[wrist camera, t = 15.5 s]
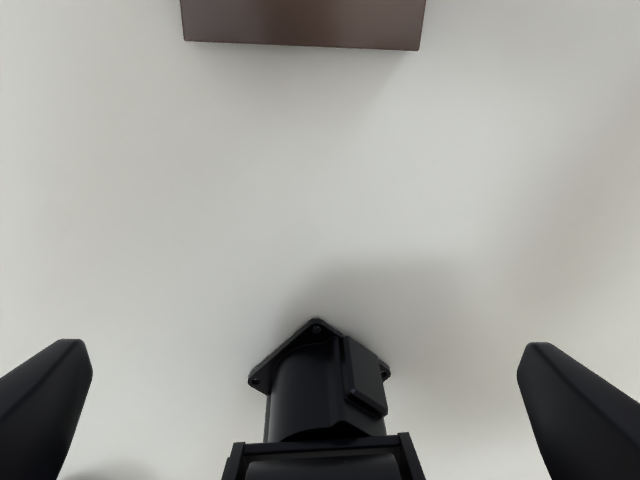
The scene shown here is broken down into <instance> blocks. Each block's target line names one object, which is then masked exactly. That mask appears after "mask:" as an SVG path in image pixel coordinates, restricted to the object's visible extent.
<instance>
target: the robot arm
mask: <svg viewBox="0 0 640 480" xmlns="http://www.w3.org/2000/svg"><path fill="white" fill-rule="evenodd" d="M315 326H318V327H319V328H313V327H315ZM390 375H391V373H390V368H389V366H388V365H387V364H385V363H384V362H382V361H381V360H379V359H378V358H377V356H376V355H375V354H374V353H372V352H371V351H369V350H368V349H366V348H365V347H364V346H362V345H361V344H359V343H358V342H356V341H355V340H353V339H352V338H351V337H349V336H345V335H343V334H342V333H340V332H339V331H337V330H336V329H334V328H333V327H332V326H330V325H329V324H327V323H326V322H324V321H323V320H321V319H318V318H315V319H312V320H310V321H309V322H308V323H306V324H305V325H304V326H303V327H302V328H301V329H300V330H298V331H297V332H296V333H295V334H294V335H293V336H292V337H291V338H289V339H288V340H287V341H286V342H285V343H284V344H283V345H281V346H280V347H279V348H278V349H277V350H276V351H275V352H274V353H272V354H271V355H270V356H269V357H268V358H267V359H266V360H264V361H263V362H262V363H261V364H260V365H259V366H258V367H257V368H255V369H254V370H253V371H252V372H251V373H250V374H249V376H248V384H249V385H250V386H251V387H253V388H255V389H256V390H258V391H260V392H262V393H263V394H265V395H267V404H266V415H265V427H264V439H263V443H252V444H245V442H236V443H234V444H233V448H232V451H231V455H230V457H228V458H227V461H226V465H225V468H224V472H223V475H222V479H221V480H426V478H425V476H424V473H423V470H422V467H421V465H420V462H419V459H418V456H417V454H416V451H415V448H414V446H413V443H412V440H411V437H410V435H409V432H403V433H398V434H397V435H387V433H386V428H385V423H384V417H385V416H386V415H387V414H388V406H387V401H386V397H385V392H384V387H383V382H384V381H385V380H387V379H388V378H389V377H390ZM92 376H93V370H92V365H91V362H90V359H89V355H88V352H87V349H86V345H85V343H84V342H83V341H82V340H80V339H60V340H58V341H56V342H54V343H53V344H51V345H50V346H48V347H47V348H45V349H44V350H42V351H41V352H39V353H38V354H36V355H35V356H33V357H31V358H30V359H28V360H27V361H25V362H24V363H22V364H21V365H19V366H18V367H16V368H15V369H13V370H12V371H10V372H9V373H7V374H6V375H4V376H3V377H1V378H0V480H56V479H57V477H58V474H59V472H60V470H61V468H62V465H63V463H64V461H65V458H66V456H67V453H68V451H69V448H70V445H71V442H72V439H73V436H74V433H75V430H76V427H77V424H78V421H79V418H80V415H81V412H82V409H83V406H84V403H85V399H86V396H87V393H88V390H89V387H90V384H91V381H92ZM255 379H258V380H255ZM517 382H518V385H519V388H520V391H521V395H522V398H523V401H524V404H525V407H526V410H527V413H528V416H529V420H530V423H531V426H532V429H533V432H534V435H535V438H536V441H537V444H538V447H539V450H540V453H541V455H542V458H543V460H544V463H545V465H546V467H547V470H548V472H549V474H550V476H551V479H552V480H640V403H638V402H637V401H635V400H634V399H632V398H631V397H629V396H628V395H626V394H625V393H623V392H622V391H620V390H619V389H617V388H616V387H614V386H613V385H612V384H610V383H609V382H607V381H606V380H604V379H603V378H601V377H600V376H598V375H597V374H595V373H594V372H592V371H591V370H589V369H588V368H586V367H585V366H583V365H582V364H580V363H579V362H578V361H576V360H575V359H573V358H572V357H570V356H569V355H567V354H566V353H564V352H563V351H561V350H560V349H558V348H557V347H555V346H554V345H552V344H550V343H547V342H531V343H529V344H528V345H527V346H526V348H525V350H524V353H523V356H522V358H521V361H520V364H519V366H518V369H517Z"/></svg>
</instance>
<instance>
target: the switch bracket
mask: <svg viewBox="0 0 640 480" xmlns="http://www.w3.org/2000/svg"><path fill="white" fill-rule="evenodd" d="M425 4H426V0H180V7H181V16H182V26H183V36H184V40H185V41H195V42H218V43H241V44H265V45H288V46H311V47H334V48H357V49H380V50H404V51H418V50H419V46H420V39H421V32H422V25H423V18H424V11H425Z"/></svg>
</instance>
